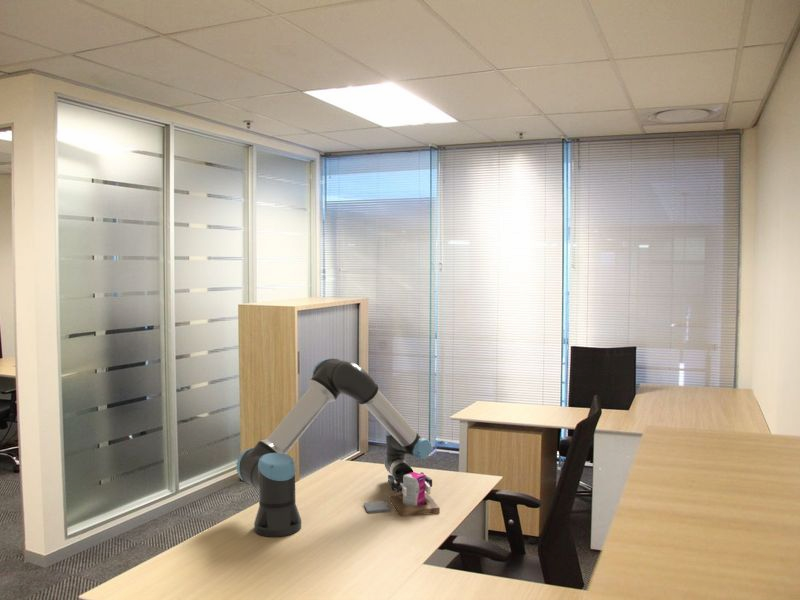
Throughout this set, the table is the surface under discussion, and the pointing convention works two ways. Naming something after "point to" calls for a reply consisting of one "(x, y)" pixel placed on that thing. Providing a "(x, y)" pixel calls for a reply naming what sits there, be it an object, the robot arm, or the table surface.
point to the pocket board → (414, 510)
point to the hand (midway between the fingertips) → (417, 491)
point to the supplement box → (414, 489)
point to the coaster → (376, 506)
